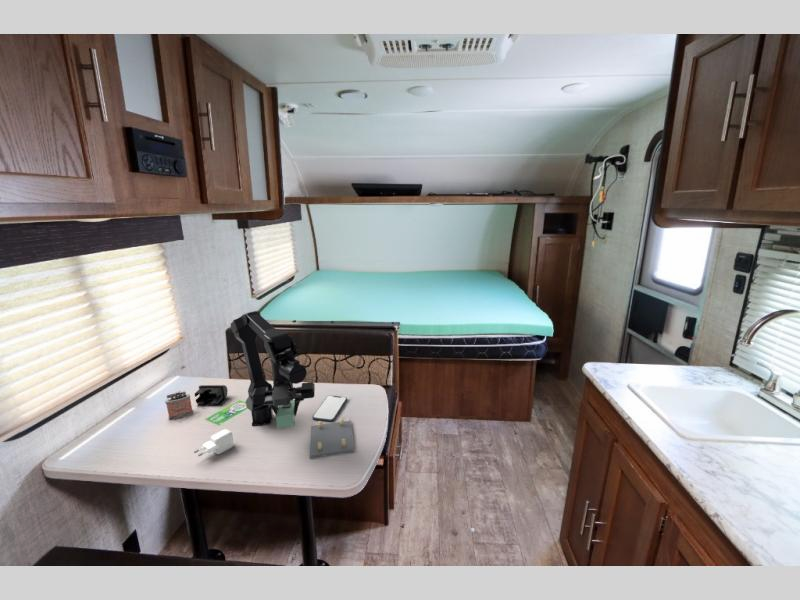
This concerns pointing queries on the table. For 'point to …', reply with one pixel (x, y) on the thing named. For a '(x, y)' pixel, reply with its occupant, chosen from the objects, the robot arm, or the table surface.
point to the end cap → (211, 395)
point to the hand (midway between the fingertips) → (286, 416)
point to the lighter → (178, 405)
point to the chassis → (331, 439)
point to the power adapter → (218, 443)
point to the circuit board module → (286, 415)
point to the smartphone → (329, 409)
